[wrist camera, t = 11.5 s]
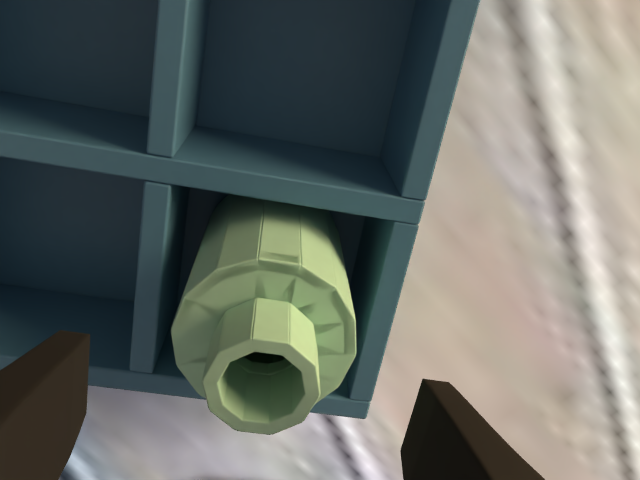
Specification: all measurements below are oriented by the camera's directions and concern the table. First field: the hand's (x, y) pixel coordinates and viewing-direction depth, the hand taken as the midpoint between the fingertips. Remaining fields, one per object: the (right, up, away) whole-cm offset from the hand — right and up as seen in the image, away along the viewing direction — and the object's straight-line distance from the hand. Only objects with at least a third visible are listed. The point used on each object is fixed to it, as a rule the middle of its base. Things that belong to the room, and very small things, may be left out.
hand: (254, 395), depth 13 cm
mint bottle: (0, +3, +7) cm, 8 cm away
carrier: (-3, +7, +6) cm, 10 cm away
